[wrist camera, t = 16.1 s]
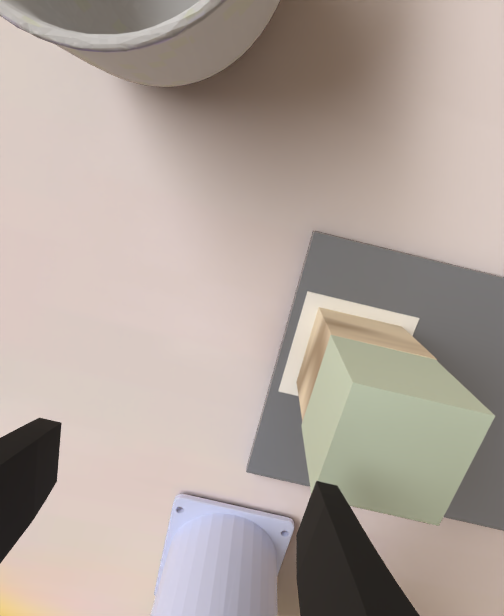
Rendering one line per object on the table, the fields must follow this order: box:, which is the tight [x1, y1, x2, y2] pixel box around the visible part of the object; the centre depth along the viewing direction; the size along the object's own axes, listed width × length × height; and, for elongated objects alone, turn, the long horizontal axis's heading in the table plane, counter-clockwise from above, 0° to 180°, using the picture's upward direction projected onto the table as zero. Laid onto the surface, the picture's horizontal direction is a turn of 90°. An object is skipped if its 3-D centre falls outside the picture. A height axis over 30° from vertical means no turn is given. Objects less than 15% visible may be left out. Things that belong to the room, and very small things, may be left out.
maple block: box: [296, 307, 437, 422], centre depth 17 cm, size 4×4×4 cm
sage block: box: [301, 335, 495, 526], centre depth 13 cm, size 4×4×4 cm
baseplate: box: [246, 231, 504, 531], centre depth 20 cm, size 15×17×1 cm
